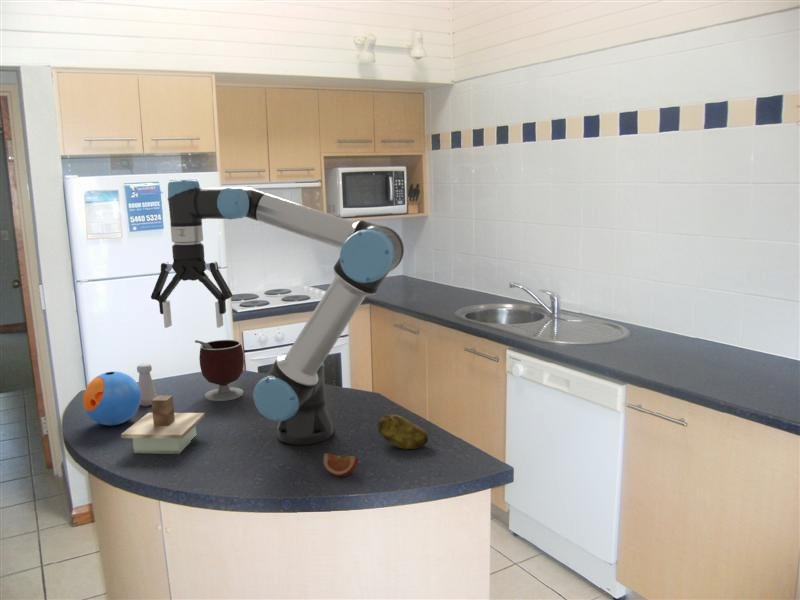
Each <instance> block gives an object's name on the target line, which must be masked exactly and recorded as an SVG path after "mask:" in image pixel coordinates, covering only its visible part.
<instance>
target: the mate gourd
mask: <svg viewBox="0 0 800 600" xmlns="http://www.w3.org/2000/svg"><path fill="white" fill-rule="evenodd" d="M194 343H196V344H200V346H199V347H200V350H199V359H198V360H199V367H200V372H201V375H202V376H203V378H204V379H205V380H206V381H207V382H208V383H210V384H214V385H217V386H219V387H218V388H214V389H211V390H208V391H207V392H206V393H205V394H204V398H205V399H206V400H208V401H210V402H212V401H213V402H225V401H231V400H236V399H239V398H241V397H242V396H243V395H244V390H243V389H241V388H240V387H233V386H232V387H229V384H232V383H234V382H236V381H237V380H239V378H240V377H241V375H242V374H243V371H244V365H245V363H244V362H245V359H244V357H245V356H244V350H243V346H242V342H241V341H240V340H235V339H218V340H217V339H216V340H211V341H207V342H204V341H200V340H198V339H197V340H194ZM240 396H241V397H240Z"/></svg>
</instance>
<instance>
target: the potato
mask: <svg viewBox="0 0 800 600" xmlns="http://www.w3.org/2000/svg"><path fill="white" fill-rule="evenodd" d="M376 426H377V430H378V433H379V434H380V435H381V436H382V437H383V438H384V440H386V441H387V442H389V443H391V444H393V445H394V446H395V447H397V448H399V449H405V450H412V449H413V450H414V449H419V448H422V447H424V446H425V445H426V444H427V443H428V442H429V438H428V437H429V436H428V433H427V432H426V431H425V429H423V428H421V427H420V426H419V425H417V424H415V423H413V422H412V421H410V420H409V419H407V418H404V417H402V416H401V415H398V414H392V413H390V414H385V416H383V417H381V418H379V420H378V422H377V425H376Z"/></svg>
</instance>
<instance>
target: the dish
mask: <svg viewBox="0 0 800 600" xmlns="http://www.w3.org/2000/svg"><path fill="white" fill-rule="evenodd" d="M196 426H197V425H196ZM196 426H195V427H193V428H192V429H191V430H190V431H189V432H188V433H187V434H186V435H185V436H184V437H183V438H182V439H175V438H132V448H133V454H148V455H150V454H152V455H153V454H158V455H159V454H161V455H180V454H181V452H183V451H184V449H185V448H186V447H187V446H188V445H189V444H190V443H191V442H192V441H193V440H194V439H195V438H196V437H197V427H196ZM195 436H196V437H195ZM194 437H195V438H194ZM193 438H194V439H193ZM192 439H193V440H192ZM191 440H192V441H191Z"/></svg>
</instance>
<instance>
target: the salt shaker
mask: <svg viewBox="0 0 800 600" xmlns="http://www.w3.org/2000/svg"><path fill="white" fill-rule="evenodd" d="M136 370H137V373H139V374H138V383H137V384H138V386H139V388H140V392H141V402H140V405H141V406H142V407H150V406H149V405H151V406H152V400H153V399H154V398H155V397H157V396H158V395H157V391H156V388H155V385H154V382H153V379H152V375H151V372H152V370H153V368H152V365H151V364H150V363H141V364H139V365H137V367H136Z"/></svg>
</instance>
